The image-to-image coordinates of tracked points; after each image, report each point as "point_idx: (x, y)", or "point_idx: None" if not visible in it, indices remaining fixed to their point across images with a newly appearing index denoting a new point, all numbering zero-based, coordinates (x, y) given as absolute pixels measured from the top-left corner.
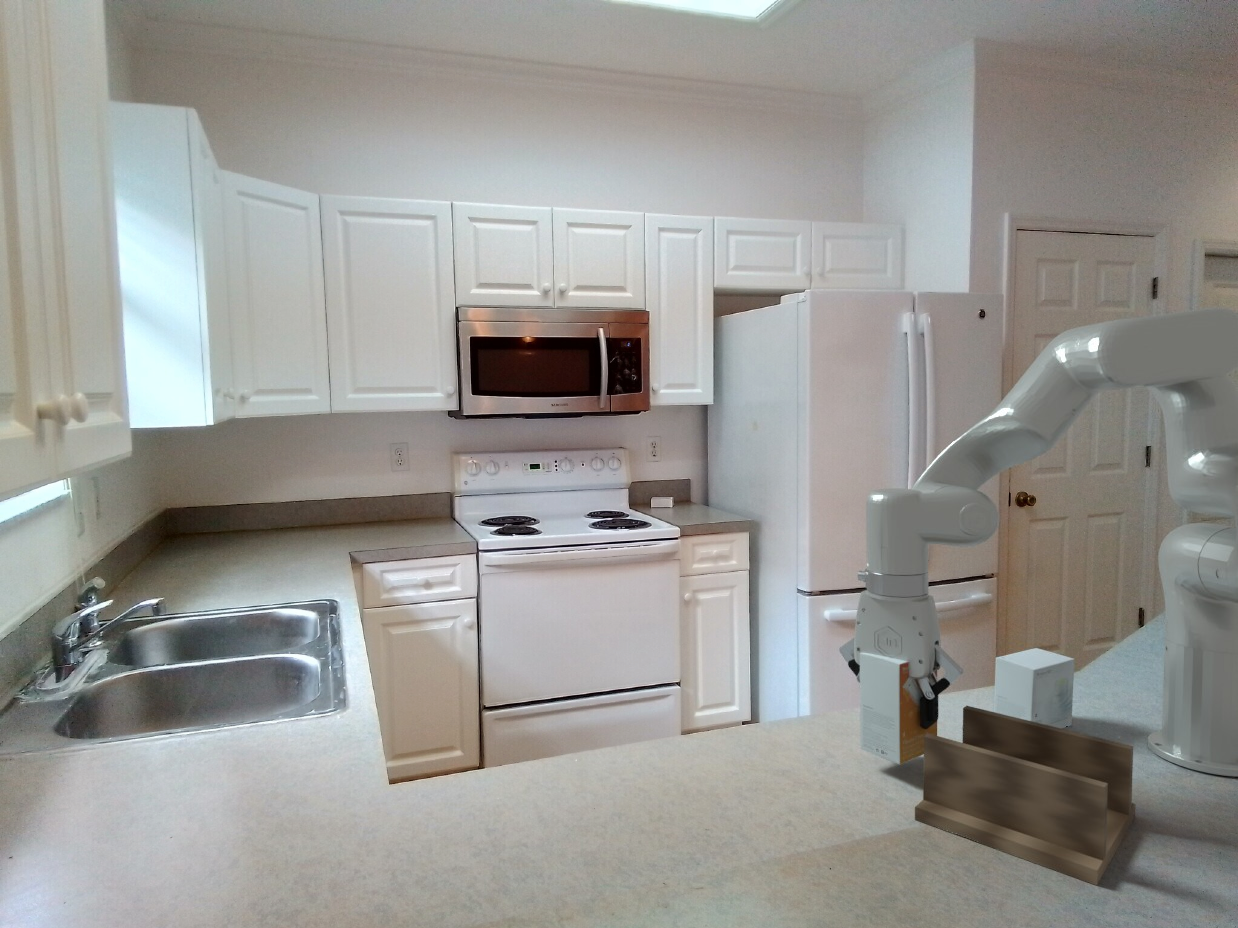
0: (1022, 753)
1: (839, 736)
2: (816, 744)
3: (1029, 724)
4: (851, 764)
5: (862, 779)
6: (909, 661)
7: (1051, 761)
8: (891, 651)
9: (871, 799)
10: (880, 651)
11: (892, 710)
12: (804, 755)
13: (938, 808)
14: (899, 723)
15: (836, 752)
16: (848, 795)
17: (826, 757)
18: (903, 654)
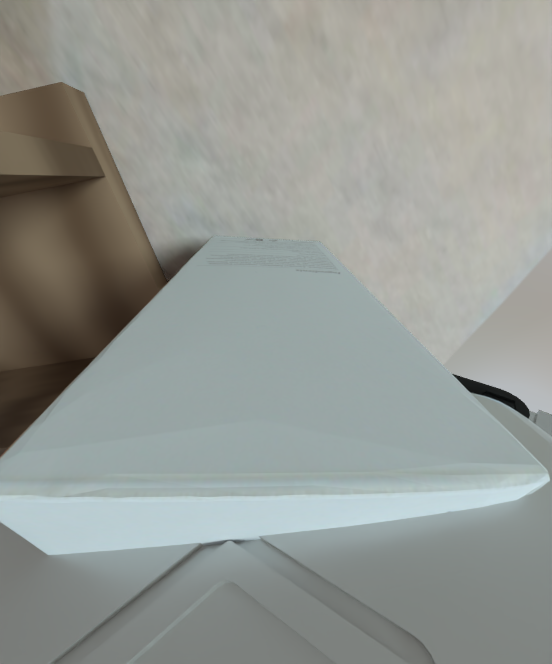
0: None
1: (401, 310)
2: (425, 249)
3: (3, 447)
4: (330, 227)
5: (277, 182)
6: (25, 562)
7: (23, 398)
8: (181, 655)
9: (203, 98)
10: (331, 593)
11: (206, 273)
12: (429, 177)
13: (40, 133)
14: (187, 262)
15: (378, 250)
16: (246, 59)
17: (384, 212)
18: (32, 655)
